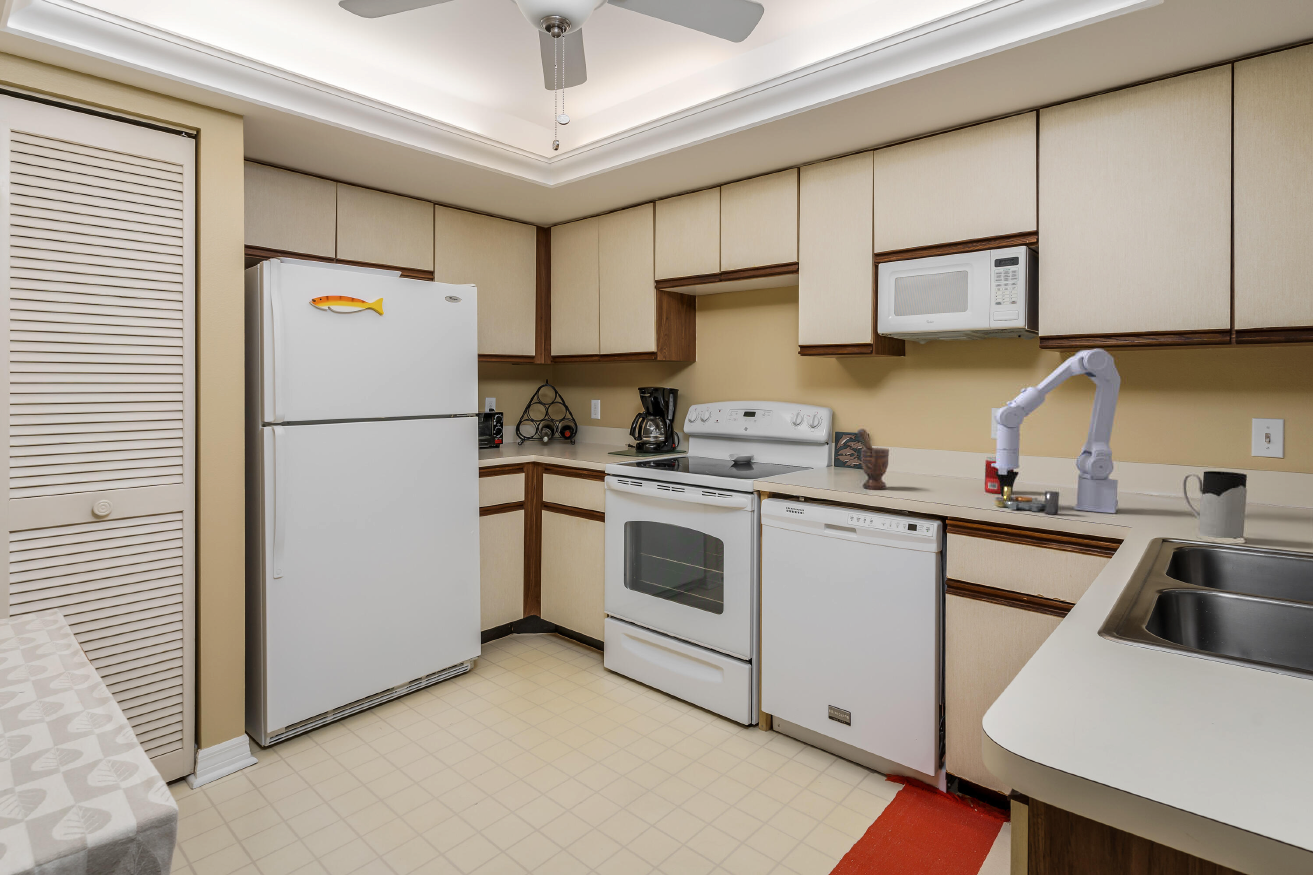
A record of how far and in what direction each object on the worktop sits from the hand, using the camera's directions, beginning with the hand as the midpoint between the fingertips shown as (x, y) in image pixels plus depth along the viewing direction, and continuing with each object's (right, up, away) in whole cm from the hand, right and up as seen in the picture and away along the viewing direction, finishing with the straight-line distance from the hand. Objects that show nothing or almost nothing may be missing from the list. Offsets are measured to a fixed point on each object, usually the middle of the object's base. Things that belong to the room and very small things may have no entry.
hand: (1006, 496), depth 194 cm
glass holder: (+28, -6, -37) cm, 47 cm away
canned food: (+9, -1, +23) cm, 25 cm away
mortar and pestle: (-29, 0, +30) cm, 42 cm away
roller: (+6, -4, -11) cm, 13 cm away
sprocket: (+4, -3, -1) cm, 5 cm away
